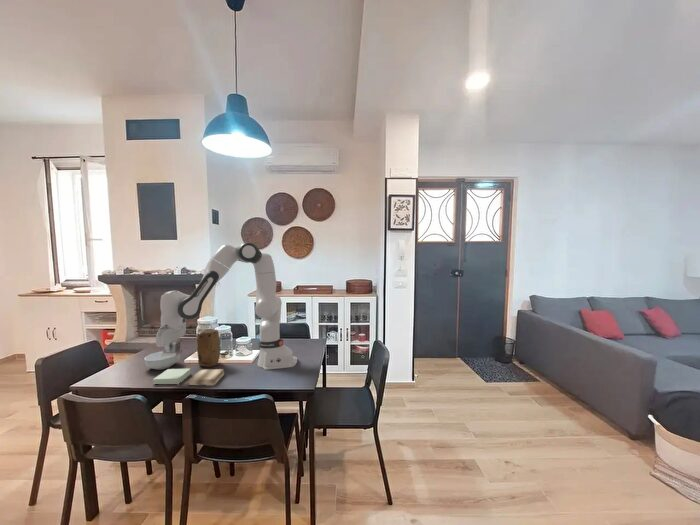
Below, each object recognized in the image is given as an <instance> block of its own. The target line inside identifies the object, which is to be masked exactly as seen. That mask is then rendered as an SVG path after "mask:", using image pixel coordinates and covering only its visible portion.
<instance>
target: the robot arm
mask: <svg viewBox="0 0 700 525" xmlns="http://www.w3.org/2000/svg"><path fill="white" fill-rule="evenodd" d="M236 262H241V263H246V264H249V263H251V264H252V265H253V267H254V275H255V283H256V285H255V286H256V294H255V296H256V297H255V307H254V312H255V314H256V316H257V317H258V318H261V319H260V325H259V340H258V348H259V353H258V354H259V356H258V360H257V363H256V364H257V366H258V368H259V367H260V368H261V369H262V368H263V370H275V369H276V370H278V369H286V368H287V369H288V368H293V367H294V366H296V365H297V364H298V357H297V356H294V352H293V350H292V349H291V348H290V347H289V346H286V345H285V344H284V338H281V337H280V336H281V334H280V323H281V314H282V303H283V301H282V298H281V297H279V296H278V295H277V292H276V291H277V278H276V276H277V275H276V269H275V263H274V260H273V257H272V255H270V254H269V253H262V252H261V250H260V249H259V248H258V246H257V245H256V244H255V243H252V242H249V241H247V242H243V243H241V244H239V246H236V247H235V246H233V245H231V244H223V245H222V246H220V248H218V249H217V250H216V251H215V253H213V255H212V256H211V258H210V259H209V261H208V262H207V263H206V266H205V268H204V269H203V270H204V271H203V276H202V278H201V280H200V281H199V284H198V285H197V286H196V288H195V289H194V291H193V292H192V293H191V294H186V293H183V292H181V291H179V290H176V289H175V290H169V291H165V292H164V293H163V294H161V296H160V314H161V315H160V327H159V329H158V330H157V332H156V337H155V346H156V347H157V348H158V347H159V348H160V347H162V348H163V347H165V349H166V352H170V351H171V348H170V346H169V345H170V343H171V342H173V341H174V340H176V339H178V338H182V337H184V336H186V331H187V330H186V329H187V326H186V323H187V320H193V319H194V320H195V318H197V317H198V316H200V314H201V311H202V307H203V303H204V301H205V300H206V299H207V297H208V295H209V294H210V292H211V291H212V290H213V288H214V287H215V286H216V285H217V284H218V283H219V282H220V281H221V280H222V279H223V278H224V277H225V276H226V275H227V274H228V272H229V271H230V269H231V268H232V267H233V265H234V264H235V263H236Z"/></svg>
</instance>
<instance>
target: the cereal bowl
mask: <svg viewBox="0 0 700 525" xmlns="http://www.w3.org/2000/svg"><path fill="white" fill-rule="evenodd" d="M161 353H163V350H162V351H161V350H160V351H156V352H154V353H150V354H148V355H146V356H144V359H143V361H144V364H145V366H146V367H147V368H149V369H152V370H153V369H155V370H165V369H166V370H167V369H170V367H172V366H173V365H175V364H176V363H177V362H179V360H180V357H181V353H180V354H178V355H177V356H162V355H161Z"/></svg>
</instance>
